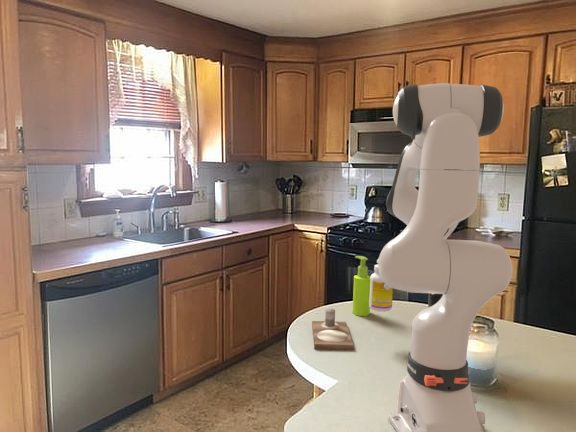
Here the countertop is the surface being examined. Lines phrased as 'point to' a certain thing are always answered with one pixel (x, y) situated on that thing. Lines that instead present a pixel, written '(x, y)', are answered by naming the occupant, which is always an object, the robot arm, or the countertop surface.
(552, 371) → the countertop surface
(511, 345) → the countertop surface
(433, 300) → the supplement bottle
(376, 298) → the supplement bottle
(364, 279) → the soap dispenser
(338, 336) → the board
